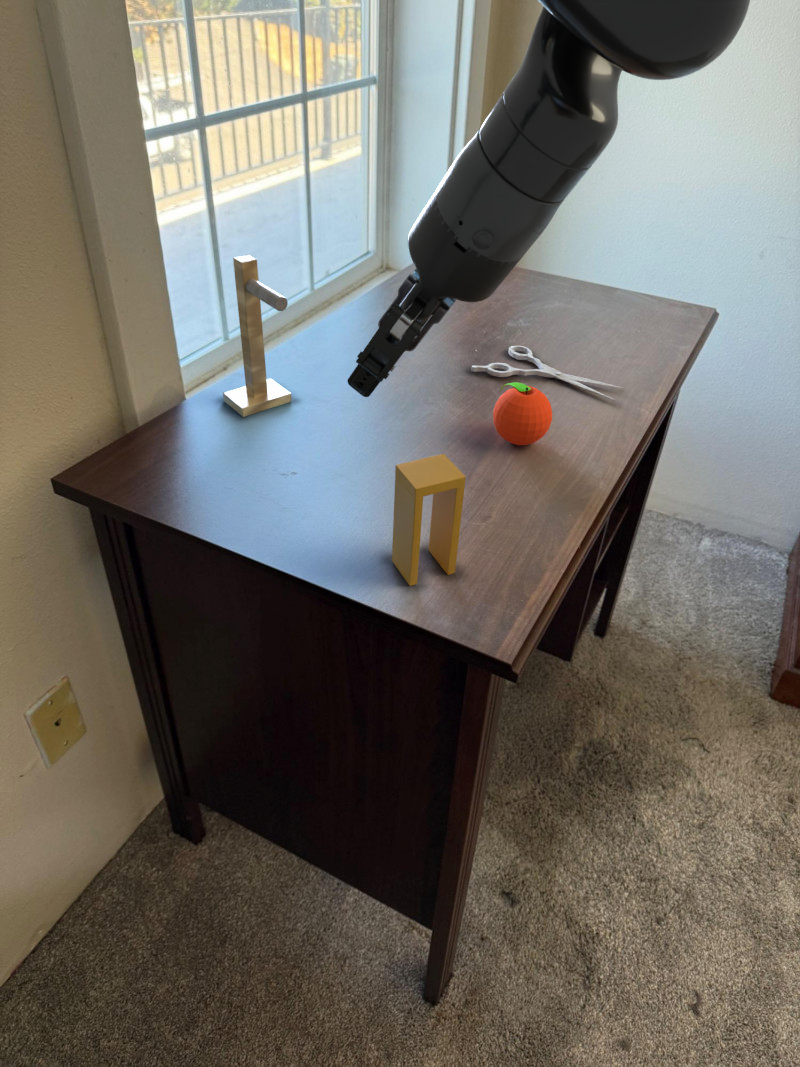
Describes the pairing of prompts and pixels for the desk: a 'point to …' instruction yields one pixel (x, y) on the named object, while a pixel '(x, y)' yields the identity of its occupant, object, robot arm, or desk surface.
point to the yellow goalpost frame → (445, 518)
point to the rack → (254, 342)
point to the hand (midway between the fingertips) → (379, 361)
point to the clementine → (522, 414)
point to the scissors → (534, 370)
